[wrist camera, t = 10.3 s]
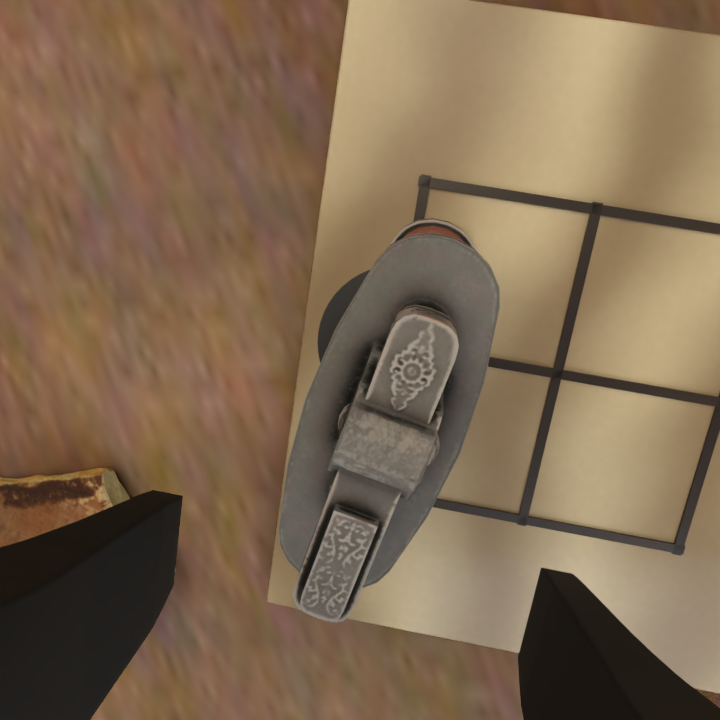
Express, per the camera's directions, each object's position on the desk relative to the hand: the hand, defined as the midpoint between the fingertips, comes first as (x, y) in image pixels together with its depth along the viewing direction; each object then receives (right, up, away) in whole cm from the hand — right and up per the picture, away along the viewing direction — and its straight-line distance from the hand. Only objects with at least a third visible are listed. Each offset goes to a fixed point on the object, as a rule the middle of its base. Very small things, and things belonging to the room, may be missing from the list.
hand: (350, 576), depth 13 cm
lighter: (+1, +5, +8) cm, 9 cm away
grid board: (+6, +4, +9) cm, 12 cm away
